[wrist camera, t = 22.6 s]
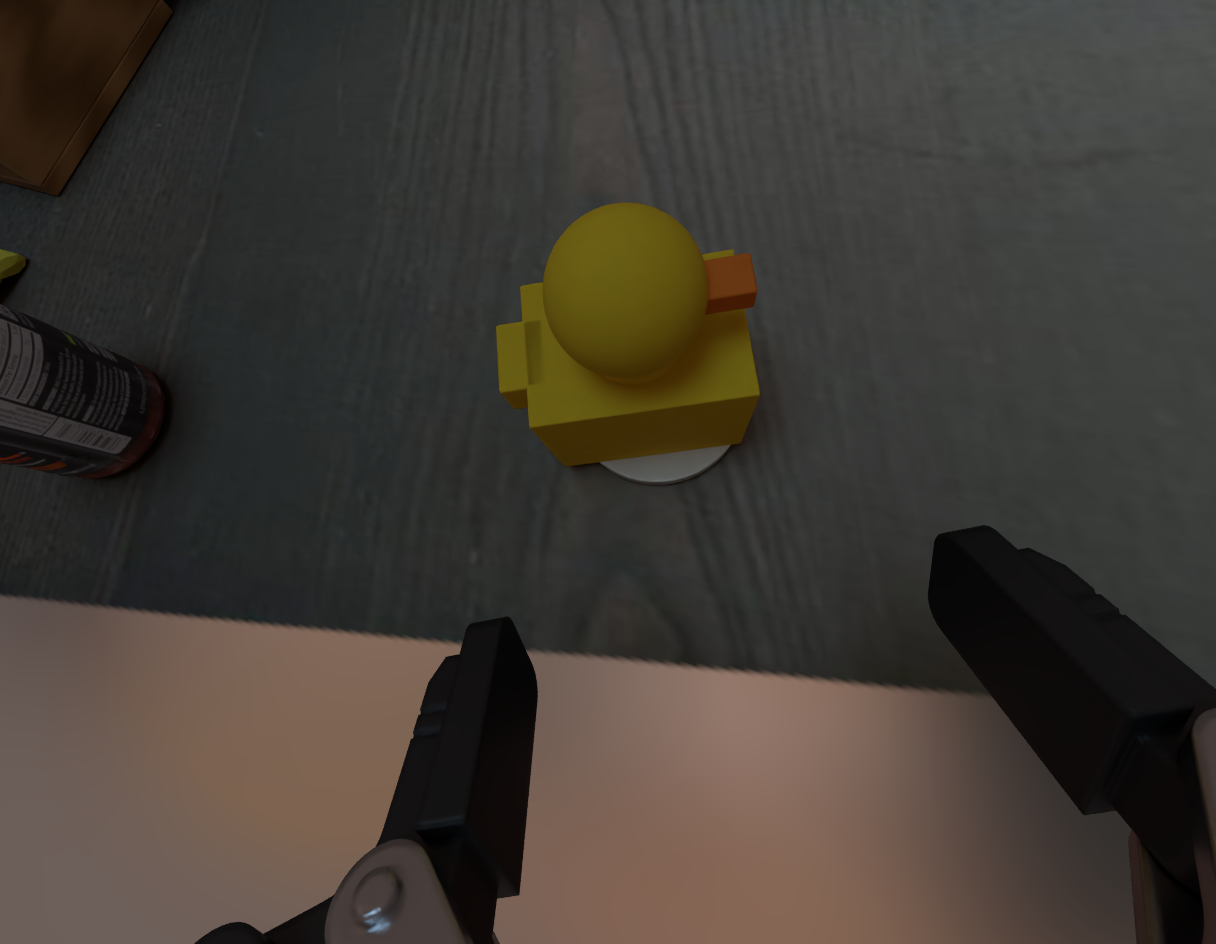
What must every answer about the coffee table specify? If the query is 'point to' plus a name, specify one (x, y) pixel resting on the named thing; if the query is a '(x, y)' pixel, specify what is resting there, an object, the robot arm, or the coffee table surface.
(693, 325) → the duck
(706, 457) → the coaster
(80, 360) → the supplement bottle
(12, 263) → the decorative insect
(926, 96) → the coffee table surface
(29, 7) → the chest
